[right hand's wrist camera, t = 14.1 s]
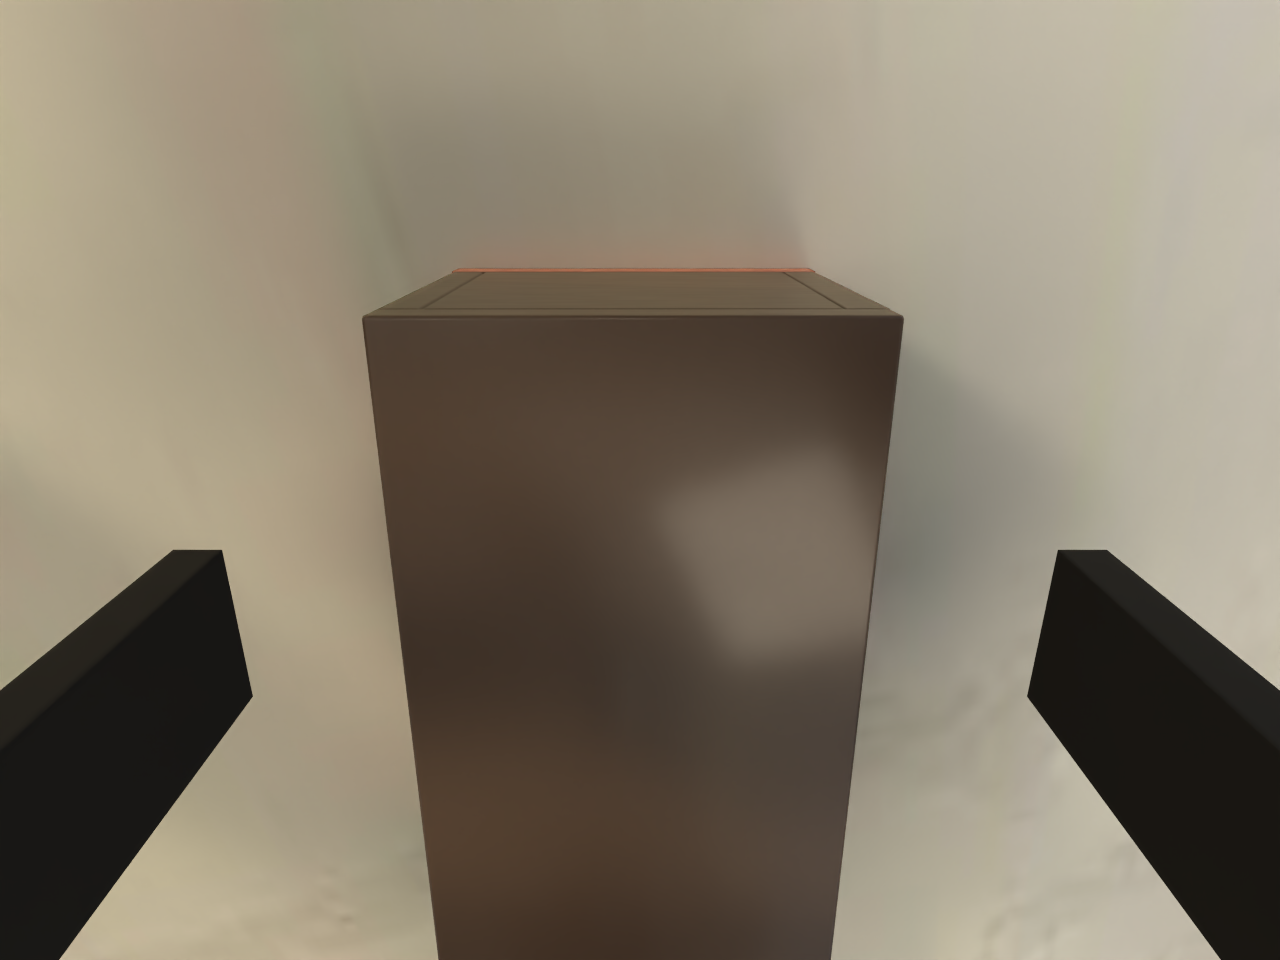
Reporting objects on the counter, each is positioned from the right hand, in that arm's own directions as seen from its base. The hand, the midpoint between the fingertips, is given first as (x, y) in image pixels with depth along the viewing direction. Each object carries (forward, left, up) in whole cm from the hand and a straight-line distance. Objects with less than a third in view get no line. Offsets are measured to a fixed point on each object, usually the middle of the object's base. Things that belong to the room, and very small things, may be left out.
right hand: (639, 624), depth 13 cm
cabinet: (+3, -4, -15) cm, 16 cm away
